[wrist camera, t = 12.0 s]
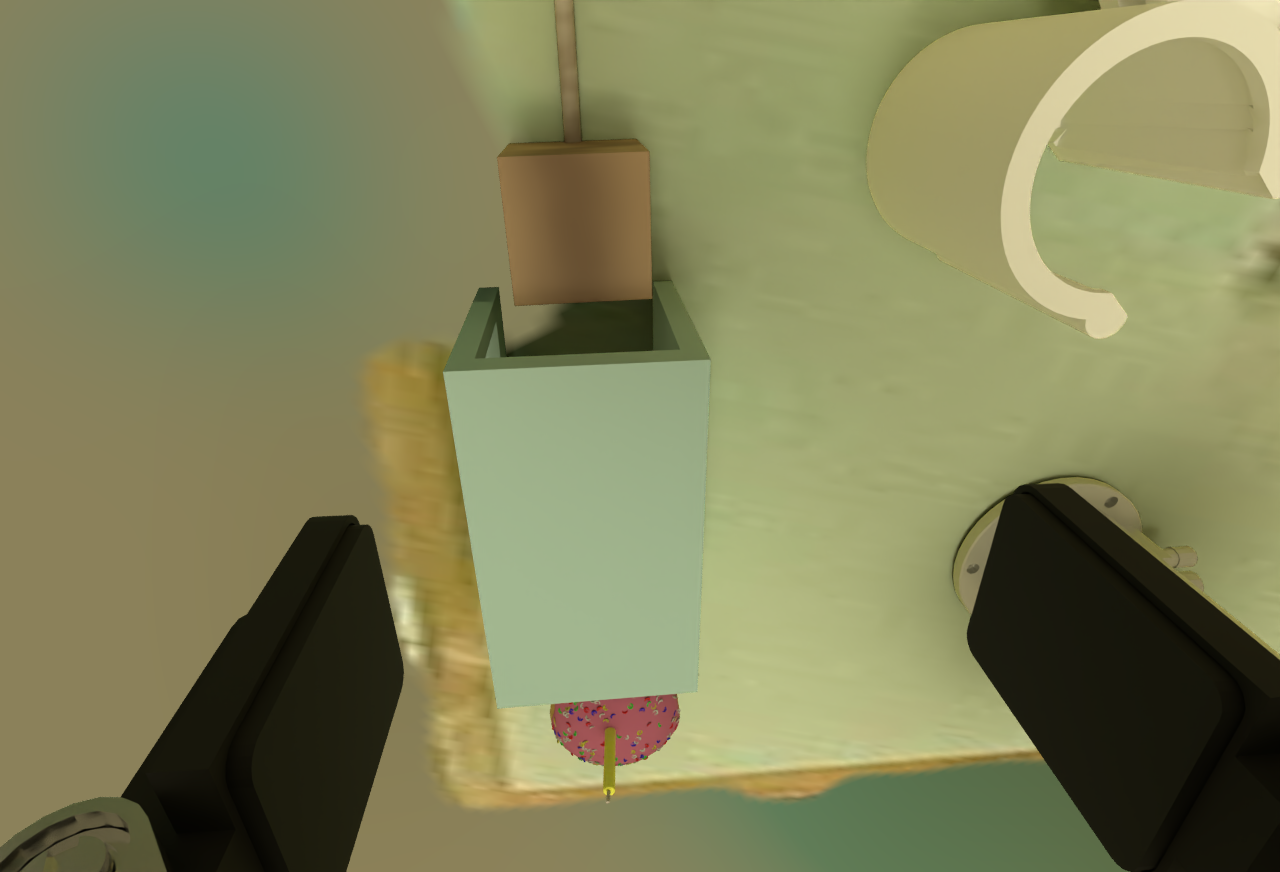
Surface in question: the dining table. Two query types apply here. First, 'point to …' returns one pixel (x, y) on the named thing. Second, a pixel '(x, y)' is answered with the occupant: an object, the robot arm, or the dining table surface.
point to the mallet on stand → (576, 206)
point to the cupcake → (615, 730)
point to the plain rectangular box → (585, 507)
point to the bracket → (1072, 128)
